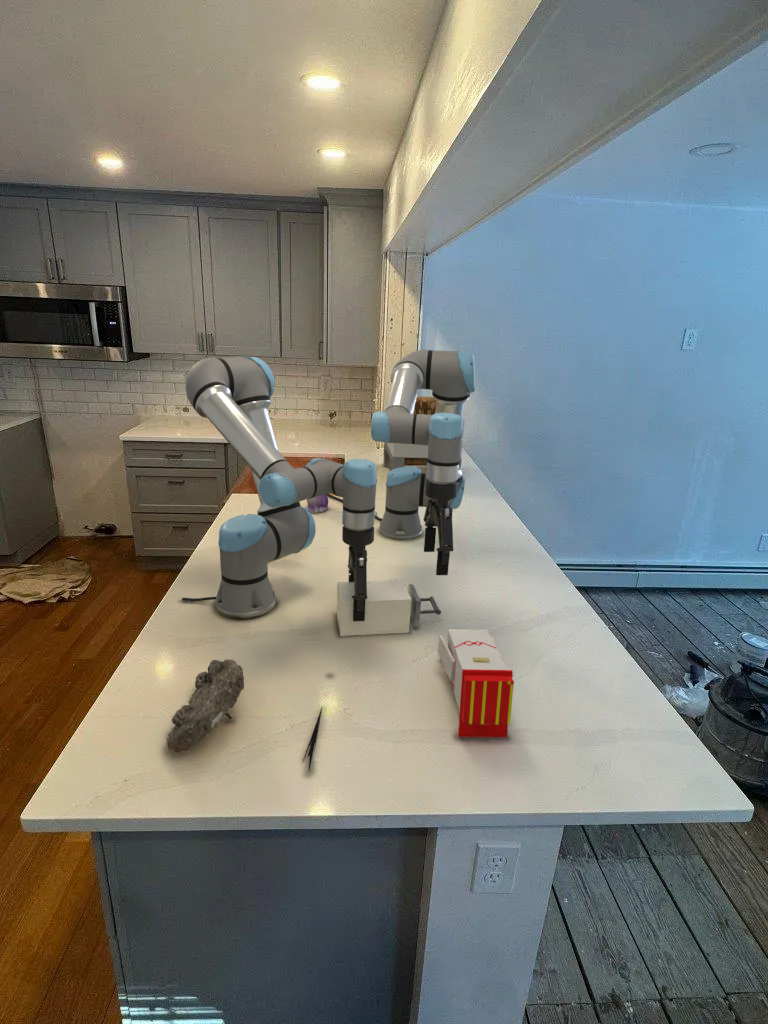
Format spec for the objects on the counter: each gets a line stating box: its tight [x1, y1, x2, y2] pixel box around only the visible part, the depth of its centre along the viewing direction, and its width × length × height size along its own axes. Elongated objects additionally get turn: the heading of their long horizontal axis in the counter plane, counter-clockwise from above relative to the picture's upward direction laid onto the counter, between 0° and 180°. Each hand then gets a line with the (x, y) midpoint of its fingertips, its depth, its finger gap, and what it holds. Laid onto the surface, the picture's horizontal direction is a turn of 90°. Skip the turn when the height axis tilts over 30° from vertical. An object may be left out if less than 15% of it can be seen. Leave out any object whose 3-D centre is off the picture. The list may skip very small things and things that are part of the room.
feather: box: [301, 673, 332, 771], centre depth 108 cm, size 2×28×2 cm
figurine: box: [306, 494, 329, 514], centre depth 217 cm, size 9×10×15 cm
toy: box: [437, 628, 515, 738], centre depth 117 cm, size 12×13×30 cm
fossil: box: [166, 658, 245, 754], centre depth 106 cm, size 22×10×15 cm
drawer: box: [407, 583, 442, 628], centre depth 142 cm, size 21×9×7 cm, turn 100°
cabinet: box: [336, 579, 411, 637], centre depth 141 cm, size 17×10×9 cm, turn 99°
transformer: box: [383, 395, 465, 472], centre depth 268 cm, size 34×33×41 cm
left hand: (356, 608), depth 140 cm, fingers closed on cabinet, 10 cm apart
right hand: (435, 562), depth 140 cm, fingers open, 13 cm apart
